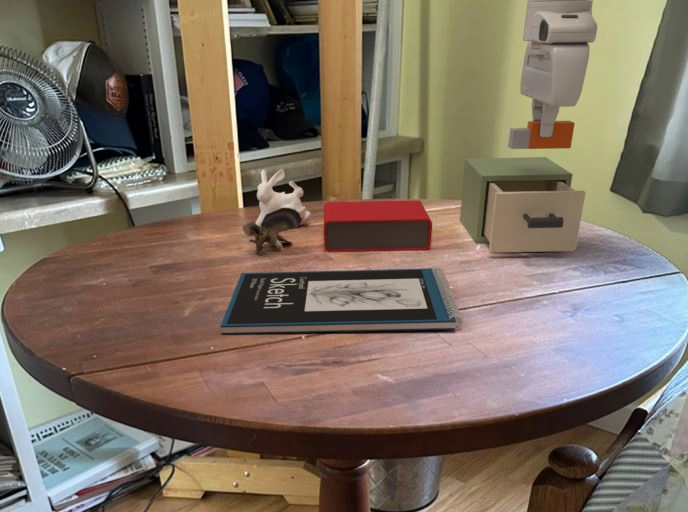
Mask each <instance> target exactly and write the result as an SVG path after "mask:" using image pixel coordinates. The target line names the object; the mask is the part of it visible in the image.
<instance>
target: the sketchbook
mask: <svg viewBox="0 0 688 512" xmlns="http://www.w3.org/2000/svg"><path fill="white" fill-rule="evenodd" d="M463 324H464V319H463V317H462V314H461V312H460V309H459V307H458V305H457V302H456V299H455V297H454V294H453V292H452V290H451V287H450V285H449V281H448V280H447V277H446V275H445V273H444V270H443V268H441V267H439V266H435V267H433V268H431V267H430V268H396V269H395V268H394V269H393V268H391V269H389V268H388V269H357V270H356V269H355V270H354V269H352V270H351V269H349V270H347V269H346V270H313V271H311V270H310V271H308V270H307V271H274V272H273V271H269V272H241V273H240V276H239V279H238V281H237V283H236V286H235V288H234V290H233V293H232V296H231V298H230V301H229V304H228V306H227V308H226V311H225V314H224V316H223V319H222V321H221V323H220V326H219V327H220V333H221V335H248V334H249V335H251V334H253V335H254V334H296V333H297V334H298V333H299V334H303V333H342V332H345V333H347V332H350V333H351V332H387V331H389V332H390V331H391V332H392V331H433V330H435V331H437V330H441V331H443V330H454V331H455V330H459V329H460V328H461V327H463Z"/></svg>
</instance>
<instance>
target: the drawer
mask: <svg viewBox="0 0 688 512" xmlns="http://www.w3.org/2000/svg"><path fill="white" fill-rule="evenodd" d="M586 193H587V192H586V191H585V190H575V188H572V186H571V187H569V186H568V185H566V184H565V183H563V182H562V181H561V180H532V181H487V185H486V195H485V205H484V215H483V225H482V232H483V234H484V235H485V236H486V238H487V239H488V241H489V242H490V243H489V245H488V247H489V248H488V251H489V253H535V252H536V253H537V252H542V253H543V252H545V253H547V252H575V251H576V250H577V248H576V247H577V244H578V238H579V232H580V227H581V221H582V215H583V210H584V203H585V199H586Z"/></svg>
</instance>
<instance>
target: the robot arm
mask: <svg viewBox="0 0 688 512" xmlns="http://www.w3.org/2000/svg"><path fill="white" fill-rule="evenodd" d="M526 3H527V4H526V11H525V19H524V28H523V35H522V41H524V42H527V45H526V48H525V52H524V57H523V62H522V63H523V64H522V68H521V69H522V70H521V76H520V86H519V89H520V94H521V95H522V96H525V97H527V98H529V99H531V100H532V101H531V117H532V119H531V120H532V121H541V123H539V130H538V134H539V135H540V136H541V137H550V136H552V133H553V126H554V123H555V121H557V118H558V116H559V113H560V108H568V107H569V108H570V107H575V106H576V105H577V104H578V102H579V100H580V98H581V94H582V92H583V87H584V82H585V79H586V74H587V69H588V64H589V60H590V59H589V58H590V51H591V49H590V44H593V43H594V42H595V41H596V37H597V32H598V24H597V22H596V20H595V18H594V17H593V11H592V10H593V3H594V0H527V2H526Z"/></svg>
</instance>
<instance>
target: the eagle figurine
mask: <svg viewBox="0 0 688 512" xmlns="http://www.w3.org/2000/svg"><path fill="white" fill-rule="evenodd" d="M301 220H302V218H301V217H300V214H299V213H298V212H297V211H296V210H295V209H290V208H285V207H284V208H281V209H279V210H276V211H273V212H272V213H268V214H266V215H265V217H264V219H263V221H262V223H261V227H260V226H258V225H256V224H255V223H256V222H254V221H253V220H249V221H246V222H245V223H244V224H243V225H242V226H241V227H242V232H243V233H244V234H245V236H247V237H253V236H254V239H249V243H254V244H255V248H256V249H255V254H256V255H258V254H260V252H261V251H262V250H263V246H264V244H265V243H268V244H270V245H272V246H275V247H276V248H277V249H279V250H280V251H281V252H282V251H283V252H284V248H283V247H284V246H283V244H282V243H281V242H283V243H287V244H293V241H289V240H287V239H285V237H283V236H282V235H281V234H279V233H283V232H287V231H289V230H294V229H297V228H299V227H300V226H301V225H299V224H300V223H301Z"/></svg>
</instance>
